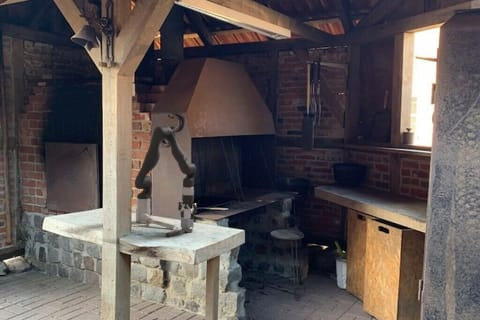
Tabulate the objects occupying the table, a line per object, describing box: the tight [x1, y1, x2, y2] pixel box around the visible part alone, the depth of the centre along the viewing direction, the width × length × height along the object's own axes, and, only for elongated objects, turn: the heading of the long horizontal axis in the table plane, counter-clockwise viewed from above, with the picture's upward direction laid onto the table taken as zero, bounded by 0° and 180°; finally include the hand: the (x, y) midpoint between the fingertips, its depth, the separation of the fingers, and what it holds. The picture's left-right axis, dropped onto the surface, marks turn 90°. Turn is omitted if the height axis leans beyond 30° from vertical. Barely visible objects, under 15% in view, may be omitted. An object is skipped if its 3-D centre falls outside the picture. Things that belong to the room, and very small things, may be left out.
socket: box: [180, 215, 195, 229], centre depth 291 cm, size 6×6×6 cm
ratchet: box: [165, 227, 194, 238], centre depth 285 cm, size 7×22×8 cm, turn 146°
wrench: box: [140, 214, 179, 231], centre depth 302 cm, size 8×2×30 cm
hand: (187, 218), depth 291 cm, fingers open, 8 cm apart
